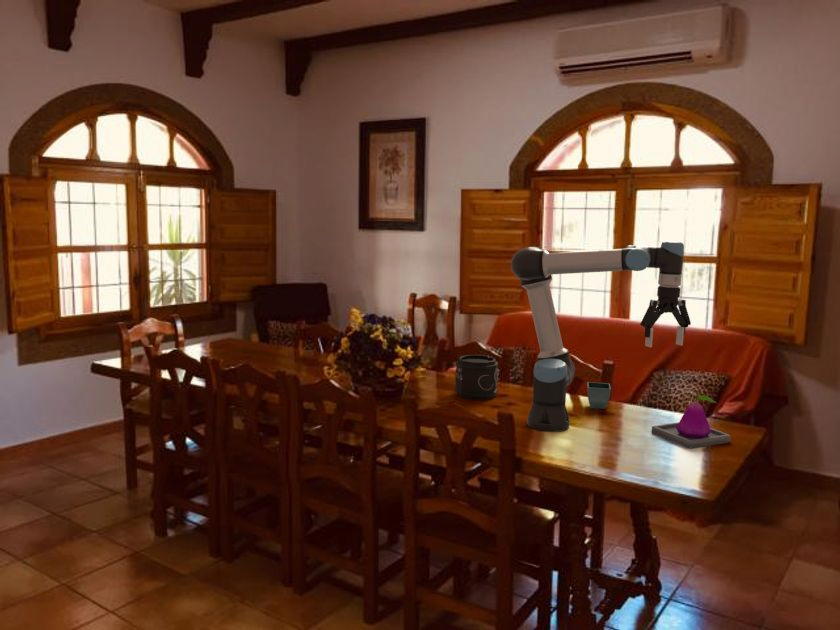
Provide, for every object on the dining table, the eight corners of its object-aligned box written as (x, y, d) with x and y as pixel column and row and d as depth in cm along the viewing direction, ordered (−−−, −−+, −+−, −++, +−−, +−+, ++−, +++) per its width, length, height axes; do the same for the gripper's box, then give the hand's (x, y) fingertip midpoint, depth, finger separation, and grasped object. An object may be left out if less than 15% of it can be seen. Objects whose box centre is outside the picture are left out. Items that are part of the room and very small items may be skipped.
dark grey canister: (505, 393, 305) (506, 357, 302) (486, 403, 290) (487, 364, 287) (468, 387, 314) (468, 352, 312) (447, 396, 299) (447, 359, 297)
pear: (695, 441, 240) (698, 397, 238) (669, 432, 250) (672, 390, 247) (717, 436, 246) (721, 393, 244) (691, 427, 255) (694, 386, 253)
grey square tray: (689, 448, 237) (689, 441, 237) (651, 433, 254) (651, 426, 253) (730, 442, 245) (730, 435, 244) (690, 427, 261) (691, 420, 260)
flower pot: (609, 411, 280) (611, 388, 279) (586, 409, 282) (587, 387, 281) (608, 405, 289) (609, 383, 288) (586, 403, 291) (587, 381, 289)
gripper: (647, 287, 244) (642, 349, 247) (705, 286, 253) (699, 346, 256) (633, 285, 251) (628, 345, 254) (689, 284, 260) (684, 342, 263)
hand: (663, 345), depth 255 cm, fingers open, 13 cm apart
